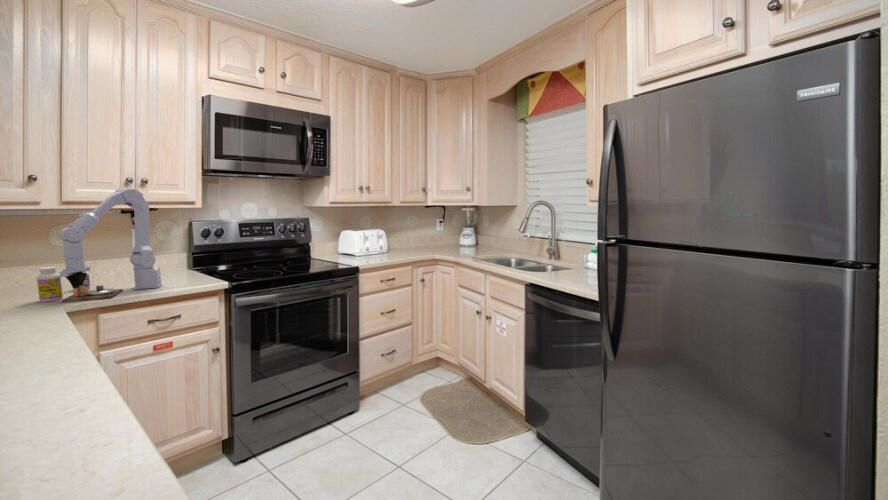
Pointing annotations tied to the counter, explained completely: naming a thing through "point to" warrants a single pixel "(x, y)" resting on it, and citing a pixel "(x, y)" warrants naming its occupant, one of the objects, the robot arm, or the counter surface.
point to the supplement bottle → (49, 285)
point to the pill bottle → (86, 281)
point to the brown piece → (95, 297)
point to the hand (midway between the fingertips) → (78, 291)
